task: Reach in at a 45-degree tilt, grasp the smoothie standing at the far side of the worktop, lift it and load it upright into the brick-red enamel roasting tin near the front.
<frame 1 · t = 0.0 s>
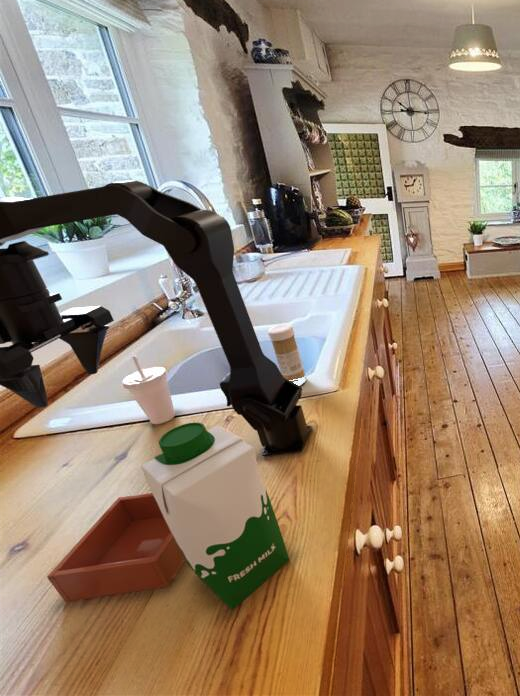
hand: (69, 389, 62), 15 cm above the worktop, tool pointing down, fingers open, 9 cm apart
milk carton: (247, 571, 50), on the worktop
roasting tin: (149, 550, 53), on the worktop
smoothie: (163, 418, 79), on the worktop
sprinkles bottle: (295, 384, 89), on the worktop
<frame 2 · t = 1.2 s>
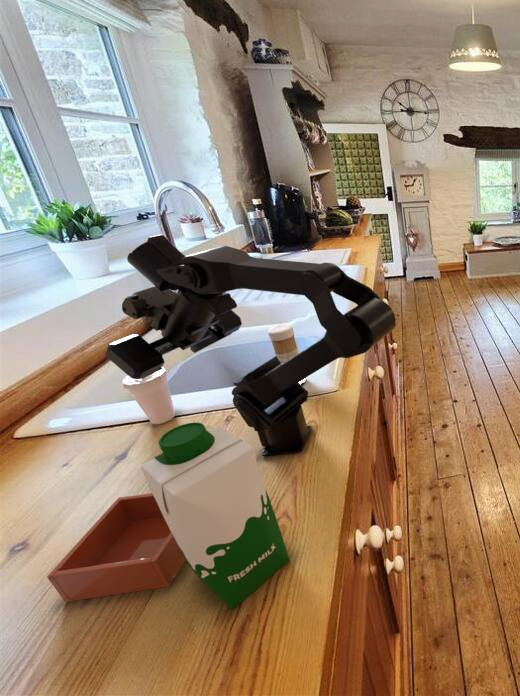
hand: (168, 363, 72), 13 cm above the worktop, tool tilted 45°, fingers open, 9 cm apart
nothing on the worktop moved.
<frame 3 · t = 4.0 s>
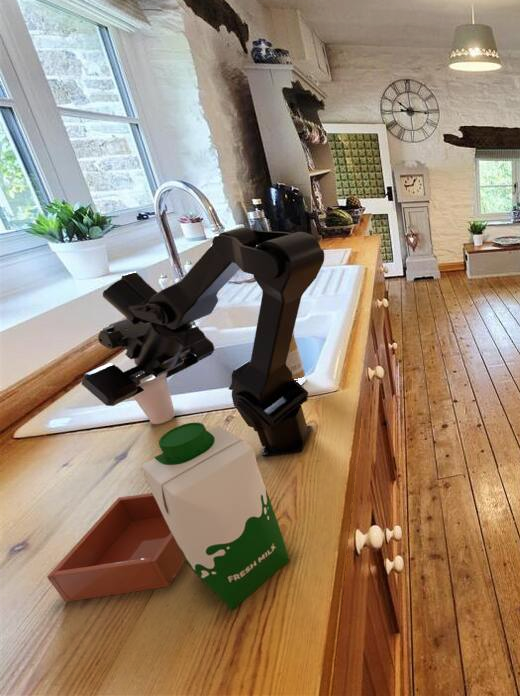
hand: (144, 386, 77), 7 cm above the worktop, tool tilted 45°, fingers closed on smoothie, 6 cm apart
smoothie: (163, 418, 79), on the worktop, touching gripper
everything else where it was.
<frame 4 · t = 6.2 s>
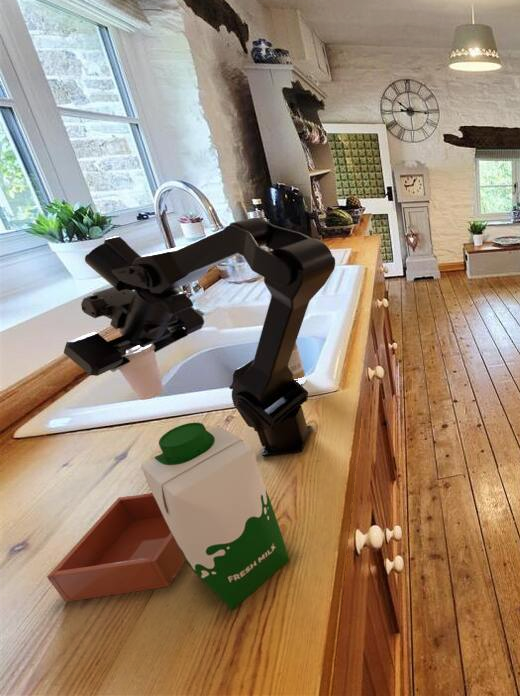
hand: (131, 360, 74), 13 cm above the worktop, tool tilted 45°, fingers closed on smoothie, 6 cm apart
smoothie: (152, 394, 77), point 6 cm above the worktop, touching gripper
everything else where it was.
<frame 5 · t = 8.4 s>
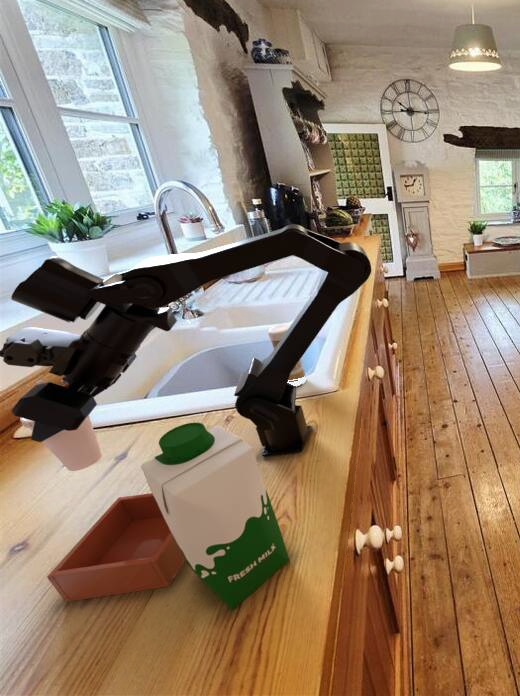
hand: (49, 426, 57), 13 cm above the worktop, tool tilted 45°, fingers closed on smoothie, 6 cm apart
smoothie: (85, 462, 60), point 6 cm above the worktop, touching gripper
everything else where it was.
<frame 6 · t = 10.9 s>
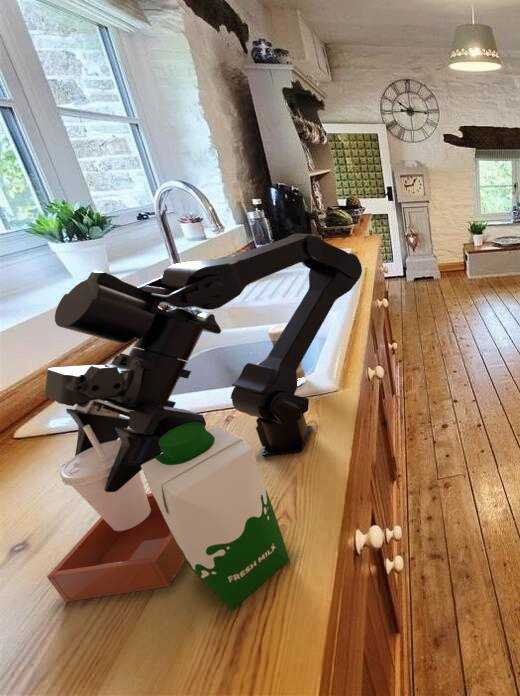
hand: (93, 483, 47), 13 cm above the worktop, tool tilted 45°, fingers closed on smoothie, 6 cm apart
smoothie: (132, 519, 51), point 6 cm above the worktop, touching gripper
everything else where it was.
when the fingers open (8 cm above the worktop, at t = 13.0 s): smoothie stays where it is, resting on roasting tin.
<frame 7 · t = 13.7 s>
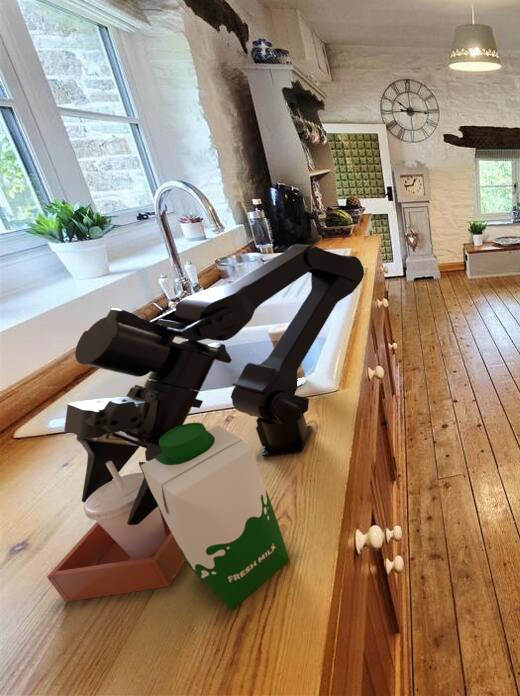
hand: (108, 513, 49), 8 cm above the worktop, tool tilted 45°, fingers open, 9 cm apart
smoothie: (150, 547, 53), resting on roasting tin
everything else where it was.
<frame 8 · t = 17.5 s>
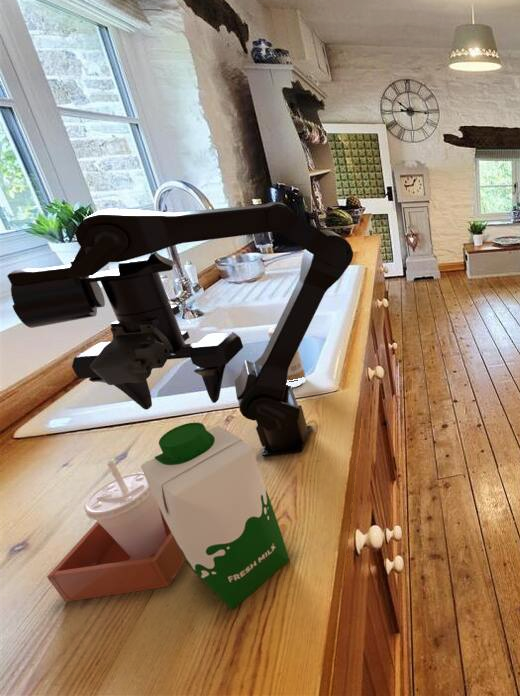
hand: (182, 404, 61), 13 cm above the worktop, tool pointing down, fingers open, 9 cm apart
nothing on the worktop moved.
at the end: smoothie inside the target area in the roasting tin (0.2 cm from its centre), point 0.3 cm above the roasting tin's base; smoothie tilted 0° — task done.
